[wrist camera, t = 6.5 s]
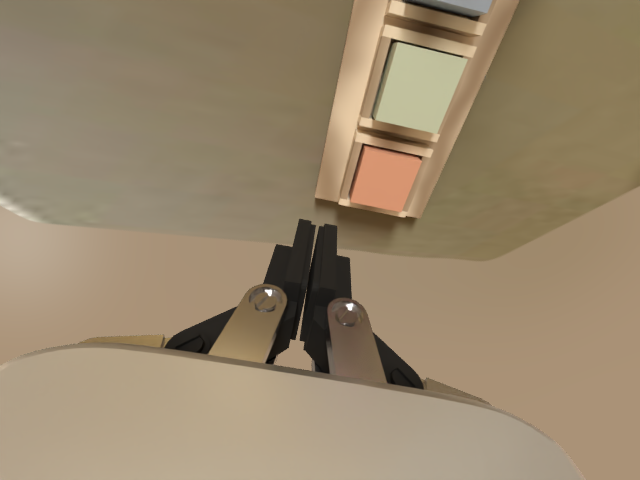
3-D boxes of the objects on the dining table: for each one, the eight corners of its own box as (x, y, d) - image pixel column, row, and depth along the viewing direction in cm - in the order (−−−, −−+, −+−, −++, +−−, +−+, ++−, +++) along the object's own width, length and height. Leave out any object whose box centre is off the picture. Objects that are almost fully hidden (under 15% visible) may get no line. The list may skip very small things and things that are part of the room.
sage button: (455, 58, 25) (467, 59, 23) (428, 127, 29) (437, 133, 26) (391, 43, 25) (397, 42, 22) (371, 114, 28) (375, 120, 26)
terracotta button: (415, 153, 31) (421, 161, 29) (396, 200, 34) (401, 212, 32) (362, 141, 31) (365, 149, 28) (349, 191, 34) (350, 202, 31)
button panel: (549, -90, 22) (591, -119, 19) (416, 211, 38) (425, 228, 34) (382, -138, 22) (391, -179, 18) (315, 191, 37) (313, 206, 33)
